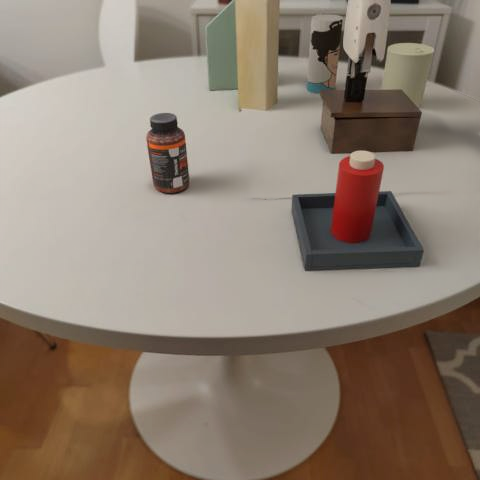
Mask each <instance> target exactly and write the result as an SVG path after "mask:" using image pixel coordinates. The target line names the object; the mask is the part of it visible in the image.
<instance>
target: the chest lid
mask: <svg viewBox="0 0 480 480" xmlns="http://www.w3.org/2000/svg"><path fill="white" fill-rule="evenodd" d="M344 92H345V89H335V90H320V94H319V97H320V98H321V101H322V103H323V102H324V105H325V107H326V109H327V111H328V113H329V115H330V117H422V114H423V112H422V110H421V109H420V107H419V108H418V107H417V106H416V105H415V104H414V103H413V102H412V101H411V99H410V98H409V97H408V96H407V95H406V94H405V93H404V92H403V91H402V90H401V89H396V90H381V89H365V95H364V100H363V101H362V102H346V101H345V99H344Z"/></svg>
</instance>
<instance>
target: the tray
mask: <svg viewBox="0 0 480 480" xmlns="http://www.w3.org/2000/svg"><path fill="white" fill-rule="evenodd" d="M335 193H336V192H328V193H326V192H324V193H298V194H291V195H292V196H291V213H292V219H293V224H294V227H295V233H296V237H297V242H298V245H299V251H300V255H301V260H302V265H303V268H304V271H329V270H331V271H333V270H356V269H357V270H358V269H359V270H361V269H380V268H381V269H383V268H384V269H385V268H410V267H413V268H414V267H420V265H421V262H422V259H423V256H424V252H425V249H424V247H423V245H422V243H421V242H420V240H419V238H418V236H417V235H416V233H415V231H414V229H413V227H412V226H411V224H410V222H409V221H408V219H407V217H406V214H405V213H404V211H403V210H402V208H401V206H400V204H399V202H398V200H397V199H396V197H395V196H394V194H393V192H392V190H386V191H385V190H382V191H380V190H379V195H378V200H377V205H376V210H375V215H374V220H373V225H372V230H371V235H370V237H369V238H368V239H367V240H365V241H363V242H360V243H347V242H343V241H340V240H338V239H336V238H335V237H334V236H333V235H332V233H331V224H332V216H333V208H334V201H335Z"/></svg>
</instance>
